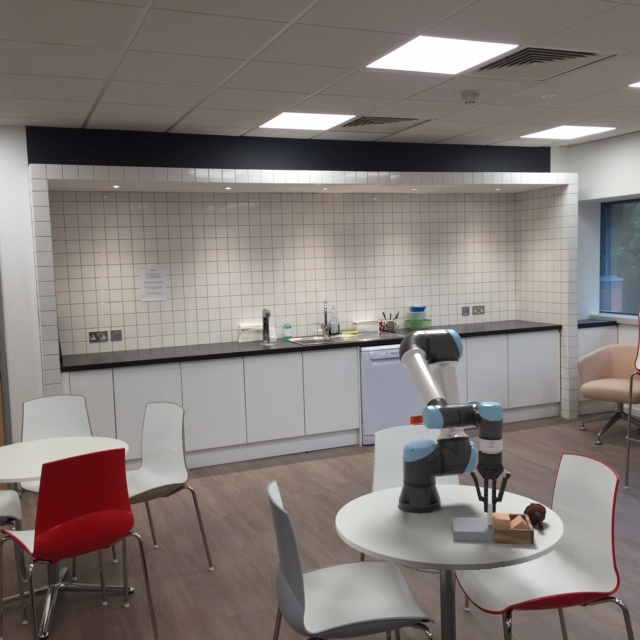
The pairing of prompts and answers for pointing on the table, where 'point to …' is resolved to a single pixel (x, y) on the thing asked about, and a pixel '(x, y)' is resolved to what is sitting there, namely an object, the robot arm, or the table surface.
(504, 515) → the tile
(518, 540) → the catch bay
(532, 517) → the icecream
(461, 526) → the board
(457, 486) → the table surface
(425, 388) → the robot arm
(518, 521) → the tile
